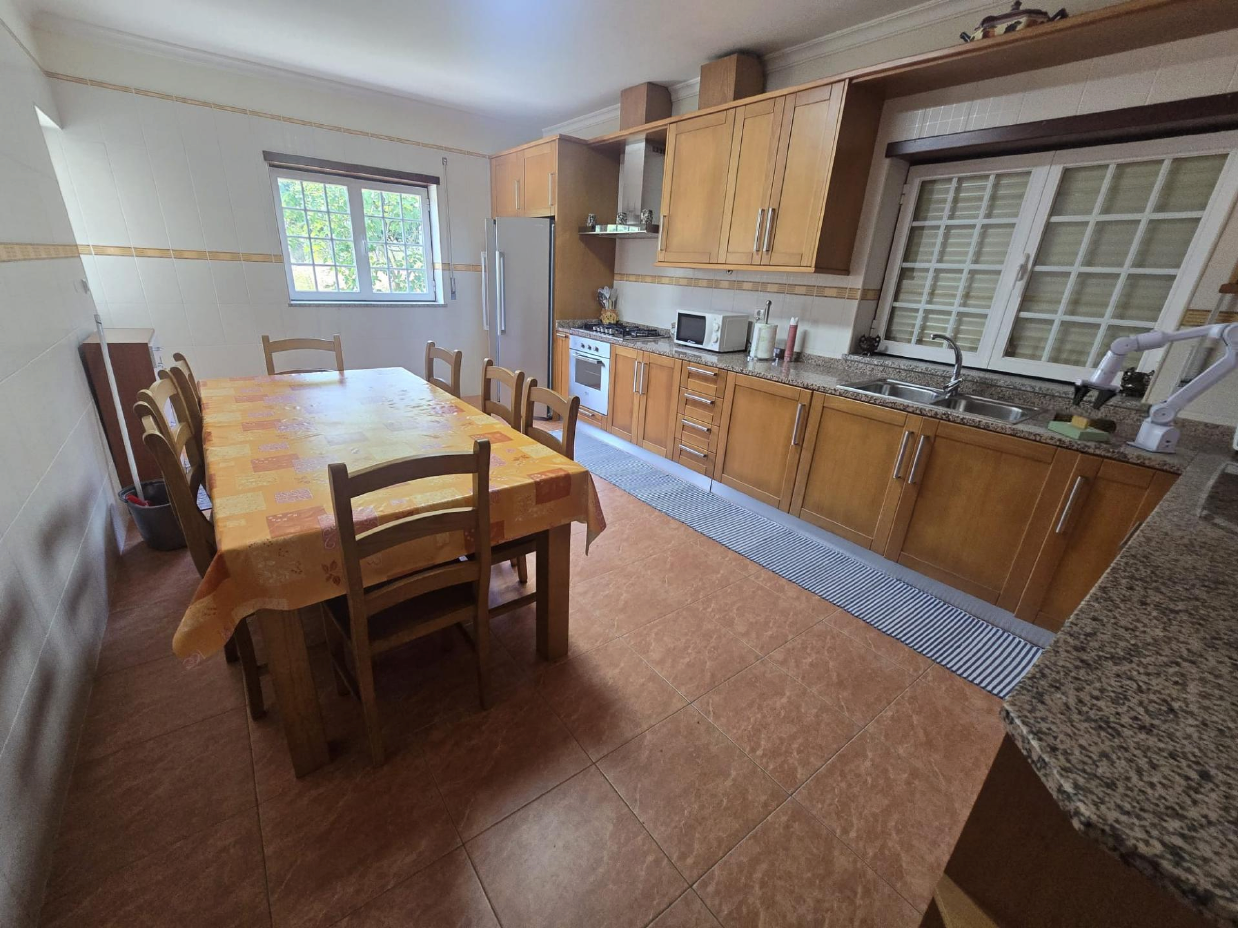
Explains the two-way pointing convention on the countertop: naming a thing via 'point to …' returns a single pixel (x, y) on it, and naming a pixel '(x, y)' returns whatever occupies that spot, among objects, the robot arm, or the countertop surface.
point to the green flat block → (1078, 431)
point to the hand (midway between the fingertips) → (1084, 407)
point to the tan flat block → (1080, 422)
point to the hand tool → (1095, 423)
